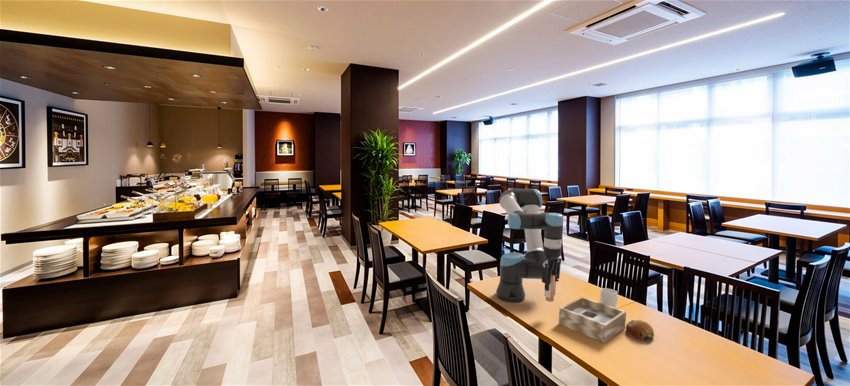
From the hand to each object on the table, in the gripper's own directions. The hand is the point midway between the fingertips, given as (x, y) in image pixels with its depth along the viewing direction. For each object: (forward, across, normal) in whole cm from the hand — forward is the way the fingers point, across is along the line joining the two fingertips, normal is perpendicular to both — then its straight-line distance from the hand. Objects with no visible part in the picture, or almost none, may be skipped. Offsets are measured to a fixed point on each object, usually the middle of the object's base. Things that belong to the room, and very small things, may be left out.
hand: (549, 295), depth 156 cm
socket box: (+10, +8, -17) cm, 21 cm away
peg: (+2, 0, 0) cm, 2 cm away
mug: (+11, +26, -17) cm, 32 cm away
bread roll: (+11, +16, -33) cm, 38 cm away
